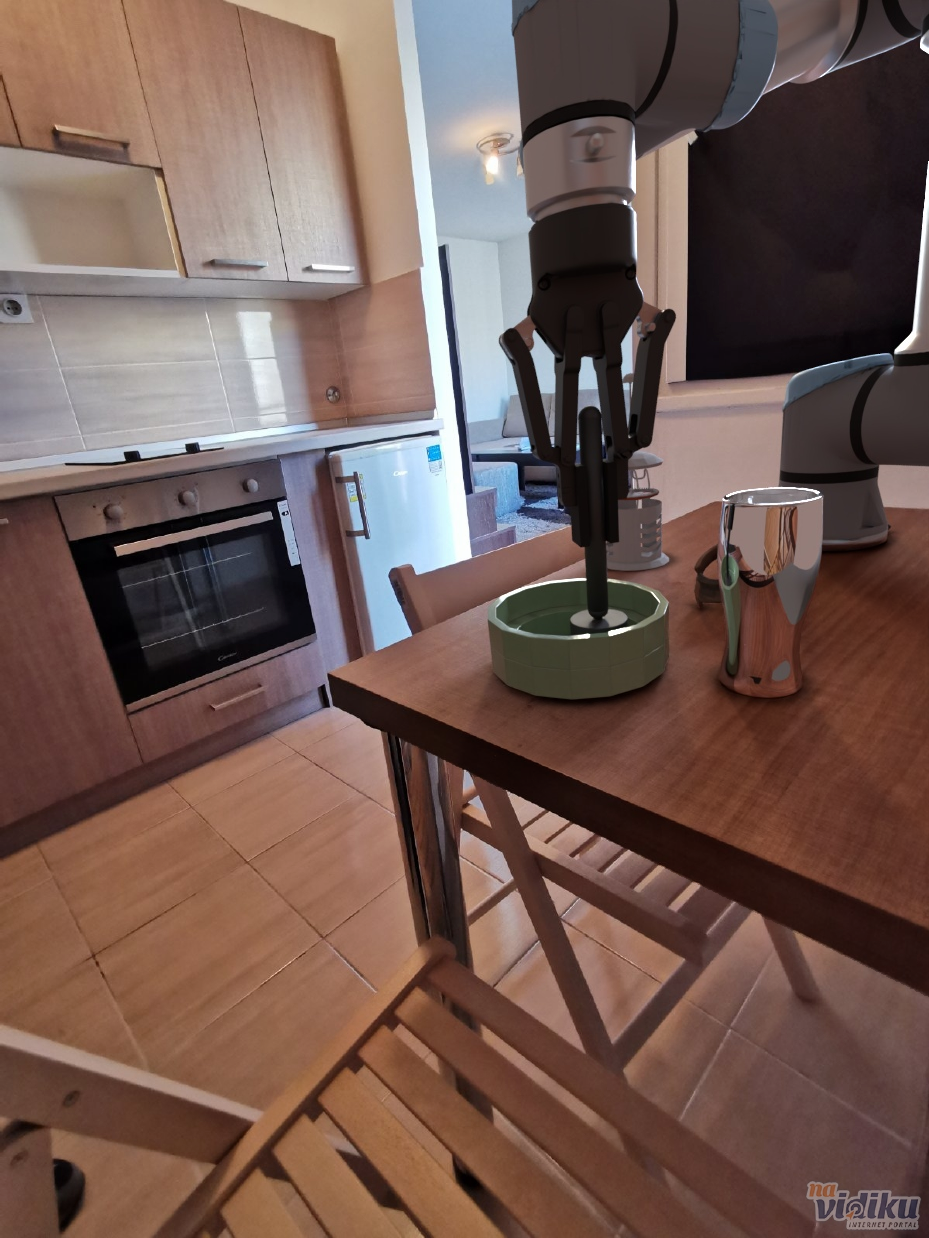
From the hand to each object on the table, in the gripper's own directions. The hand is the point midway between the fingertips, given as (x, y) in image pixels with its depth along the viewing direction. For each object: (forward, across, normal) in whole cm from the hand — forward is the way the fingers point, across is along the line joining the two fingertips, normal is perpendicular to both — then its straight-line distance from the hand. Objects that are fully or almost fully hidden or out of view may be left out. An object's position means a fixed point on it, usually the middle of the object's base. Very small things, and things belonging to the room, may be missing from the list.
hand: (595, 540), depth 50 cm
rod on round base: (+9, 0, 0) cm, 9 cm away
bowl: (+12, -2, +1) cm, 12 cm away
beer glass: (+12, +11, -7) cm, 18 cm away
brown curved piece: (+12, +19, +11) cm, 25 cm away
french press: (+12, +15, +32) cm, 38 cm away
